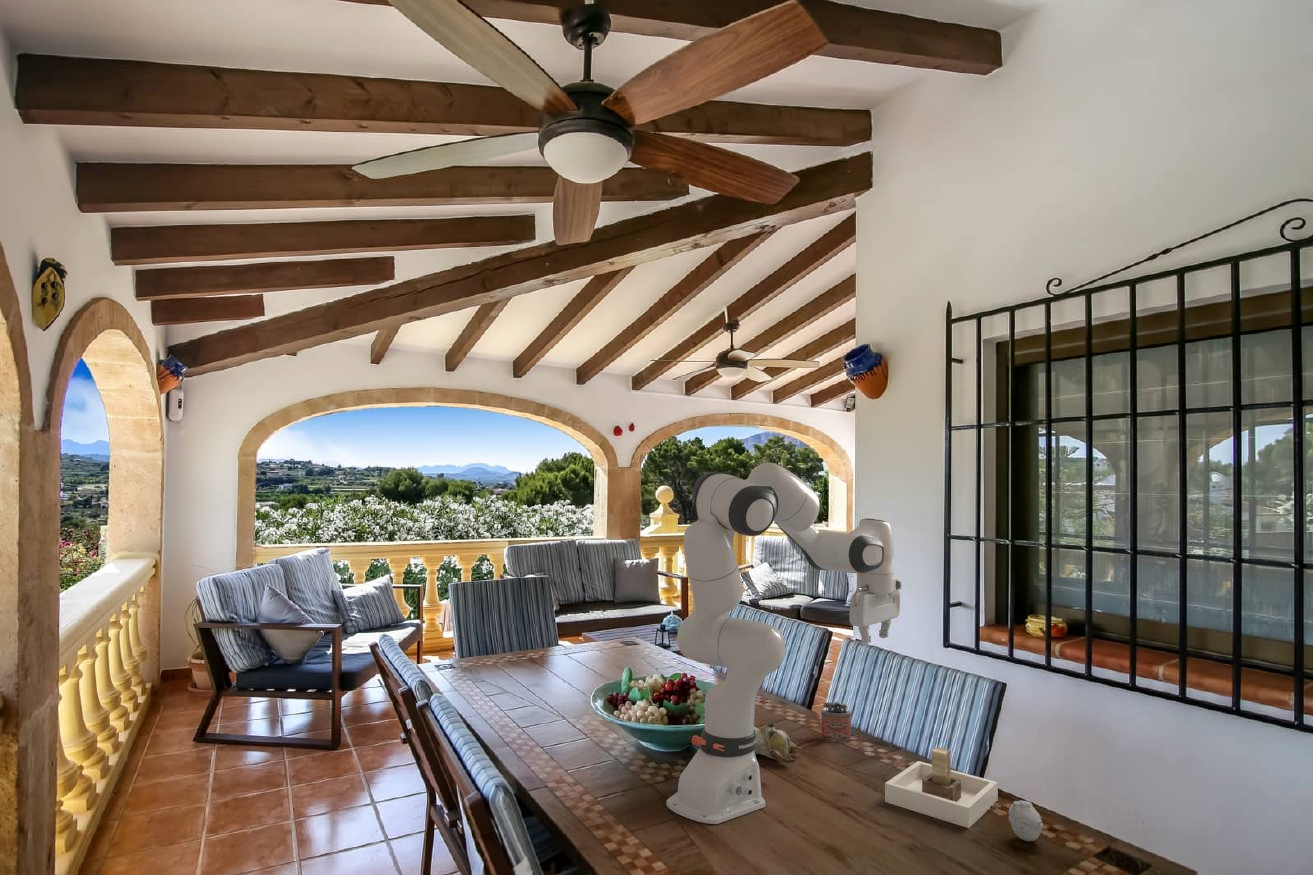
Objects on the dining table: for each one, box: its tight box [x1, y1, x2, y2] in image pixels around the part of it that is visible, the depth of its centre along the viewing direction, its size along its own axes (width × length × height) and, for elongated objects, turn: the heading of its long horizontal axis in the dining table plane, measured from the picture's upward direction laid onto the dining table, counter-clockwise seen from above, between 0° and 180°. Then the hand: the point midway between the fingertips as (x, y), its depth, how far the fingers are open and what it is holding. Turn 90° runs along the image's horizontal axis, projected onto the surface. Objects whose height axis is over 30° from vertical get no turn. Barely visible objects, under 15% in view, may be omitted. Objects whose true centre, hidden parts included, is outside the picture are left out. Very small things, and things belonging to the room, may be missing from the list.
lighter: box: [820, 701, 852, 743], centre depth 203 cm, size 8×3×10 cm, turn 84°
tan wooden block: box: [931, 746, 952, 787], centre depth 165 cm, size 3×3×10 cm
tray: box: [884, 760, 999, 829], centre depth 165 cm, size 18×18×4 cm
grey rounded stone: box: [1008, 800, 1044, 842], centre depth 148 cm, size 6×7×7 cm
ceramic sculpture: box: [754, 723, 808, 764], centre depth 189 cm, size 11×9×15 cm
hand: (875, 640), depth 185 cm, fingers open, 8 cm apart
